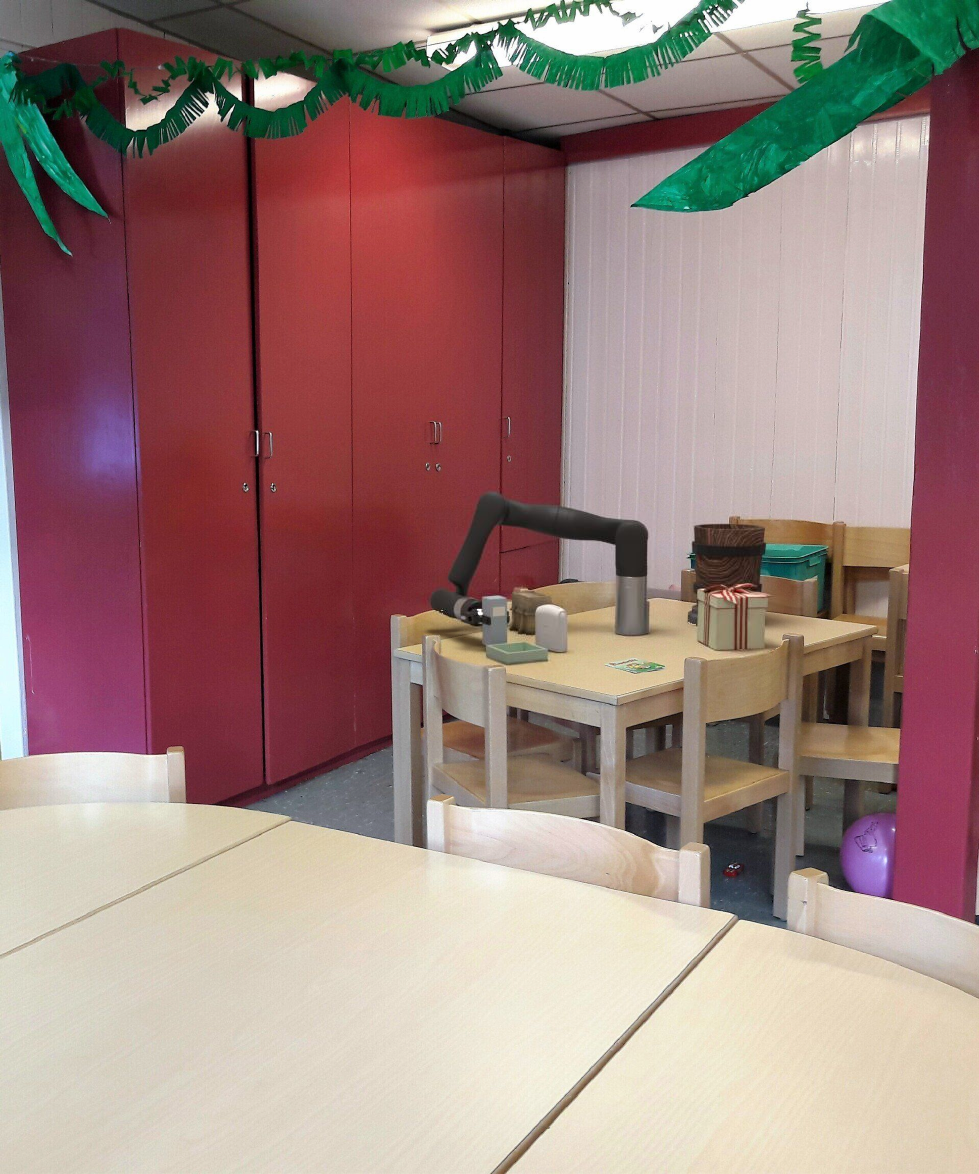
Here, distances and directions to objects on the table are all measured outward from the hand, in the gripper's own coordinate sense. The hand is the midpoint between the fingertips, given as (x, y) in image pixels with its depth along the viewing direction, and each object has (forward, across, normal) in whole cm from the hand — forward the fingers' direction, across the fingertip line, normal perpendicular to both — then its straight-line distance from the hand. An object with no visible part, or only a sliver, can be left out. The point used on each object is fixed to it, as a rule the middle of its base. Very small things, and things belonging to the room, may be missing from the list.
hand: (499, 620), depth 292 cm
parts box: (-3, 0, +7) cm, 7 cm away
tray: (+10, 0, +8) cm, 13 cm away
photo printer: (+4, +14, +9) cm, 17 cm away
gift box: (+23, +62, +9) cm, 67 cm away
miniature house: (-21, +24, +9) cm, 33 cm away
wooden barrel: (-8, +86, +9) cm, 87 cm away
